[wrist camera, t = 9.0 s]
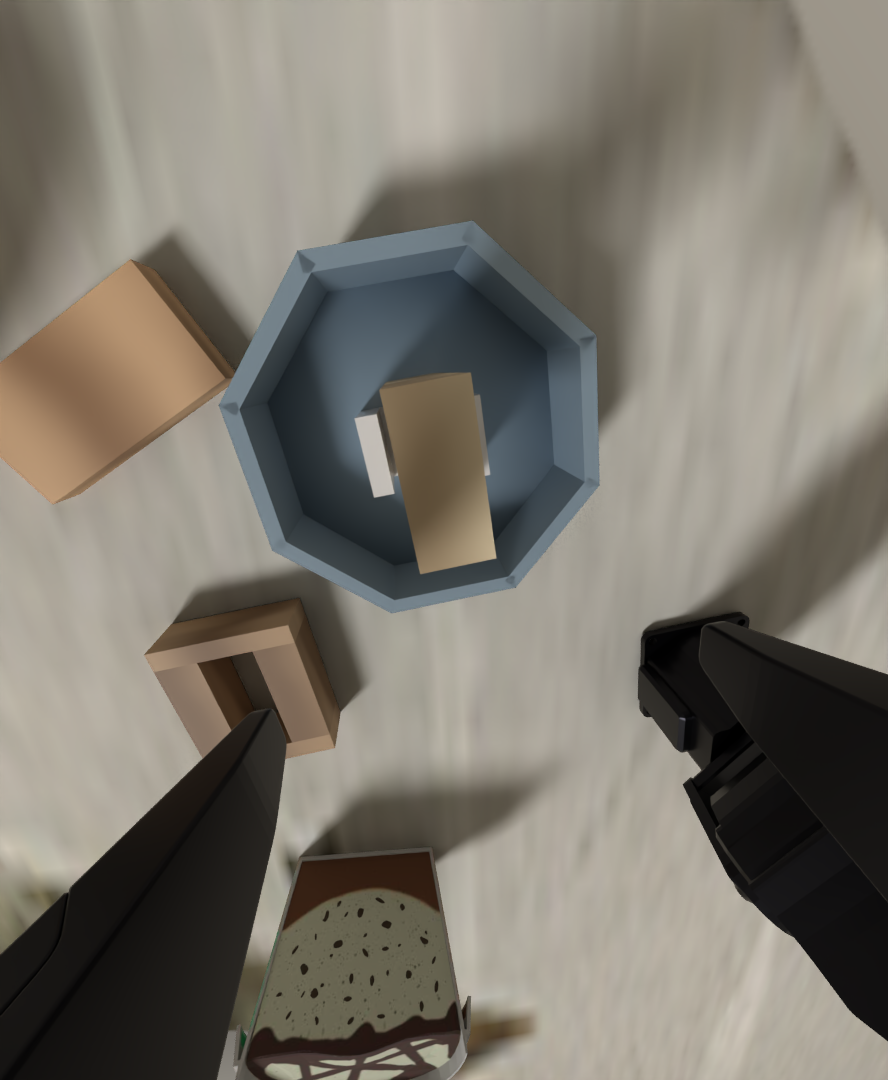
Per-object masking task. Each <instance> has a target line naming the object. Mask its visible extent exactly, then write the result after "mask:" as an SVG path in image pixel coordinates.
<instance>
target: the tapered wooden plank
mask: <svg viewBox="0 0 888 1080" xmlns="http://www.w3.org/2000/svg"><path fill="white" fill-rule="evenodd" d="M234 375H235V372H234V371H233V369H232V368H231V367H230V365H229V364H228V363H227V362H226V360H225V359H224V358H223V356H222V355H221V354H220V353H219V351H218V350H217V349H216V348H215V346H214V345H213V344H212V342H211V341H210V340H209V339H208V337H207V336H206V335H205V334H204V332H203V331H202V330H201V328H200V327H199V326H198V325H197V323H196V322H195V321H194V319H193V318H192V317H191V316H190V314H189V313H188V312H187V311H186V309H185V308H184V307H183V305H182V304H181V303H180V302H179V300H178V299H177V298H176V297H175V295H174V294H173V293H172V291H171V290H170V289H169V288H168V286H167V285H166V284H165V282H164V281H163V280H162V279H161V277H160V276H159V275H158V274H157V272H156V271H155V270H154V269H151V268H149V267H147V266H144V265H142V264H140V263H138V262H135V261H133V260H131V259H130V260H129V261H128V262H126V263H125V264H124V265H123V266H121V267H120V268H119V269H118V270H116V271H115V272H114V273H112V274H111V275H110V276H109V277H107V278H106V279H105V280H104V281H102V282H101V283H100V284H99V285H97V286H96V287H95V288H94V289H92V290H91V291H90V292H89V293H87V294H86V295H85V296H84V297H82V298H81V299H80V300H79V301H77V302H76V303H75V304H73V305H72V306H71V307H70V308H68V309H67V310H66V311H65V312H63V313H62V314H61V315H60V316H58V317H57V318H56V319H55V320H53V321H52V322H51V323H50V324H48V325H47V326H46V327H45V328H43V329H42V330H41V331H40V332H38V333H37V334H36V335H35V336H33V337H32V338H31V339H29V340H28V341H27V342H26V343H24V344H23V345H22V346H21V347H19V348H18V349H17V350H16V351H14V352H13V353H12V354H11V355H9V356H8V357H7V358H6V359H4V360H3V361H2V362H1V363H0V457H1V458H2V459H3V460H4V461H5V462H6V463H7V464H8V465H9V466H11V467H12V468H13V469H14V470H15V471H16V472H17V473H18V474H19V475H21V476H22V477H23V478H24V479H25V480H26V481H27V482H28V483H29V484H30V485H32V486H33V487H34V488H35V489H36V490H37V491H38V492H39V493H40V494H42V495H43V496H44V497H45V498H46V499H47V500H48V501H49V502H50V503H52V504H55V503H58V502H60V501H63V500H66V499H68V498H71V497H74V496H76V495H79V494H81V493H82V492H84V491H85V490H86V489H88V488H89V487H90V486H92V485H93V484H95V483H96V482H97V481H99V480H100V479H101V478H103V477H104V476H106V475H107V474H108V473H110V472H111V471H112V470H114V469H115V468H117V467H118V466H119V465H121V464H122V463H123V462H125V461H126V460H128V459H129V458H130V457H132V456H133V455H134V454H136V453H137V452H139V451H140V450H141V449H143V448H144V447H145V446H147V445H148V444H150V443H151V442H152V441H154V440H155V439H156V438H158V437H159V436H161V435H162V434H163V433H165V432H166V431H168V430H169V429H170V428H172V427H173V426H174V425H176V424H177V423H179V422H180V421H181V420H183V419H184V418H185V417H187V416H188V415H190V414H191V413H192V412H194V411H195V410H196V409H198V408H199V407H201V406H202V405H203V404H205V403H206V402H207V401H209V400H210V399H212V398H213V397H214V396H216V395H217V394H218V393H220V392H221V391H223V390H224V389H225V388H227V387H228V386H229V384H230V382H231V381H232V379H233V377H234Z"/></svg>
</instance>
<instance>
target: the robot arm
mask: <svg viewBox="0 0 888 1080" xmlns="http://www.w3.org/2000/svg"><path fill="white" fill-rule="evenodd" d="M748 627H749V618H748V617H747V616H746V615H745V614H743V613H741V612H736V613H731V614H727V615H722V616H717V617H713V618H708V619H703V620H699V621H694V622H690V623H685V624H680V625H676V626H671V627H666V628H662V629H657V630H652V631H648V632H646V633H645V634H643V636H642V638H641V664H640V667H639V672H638V699H639V701H640V711H641V712H642V714H643V715H644V716H645V717H652V718H653V719H654V721H655V722H656V723H657V725H658V726H659V727H660V729H661V730H662V731H663V733H664V734H665V735H666V737H667V738H668V739H669V741H670V742H671V743H672V745H673V746H674V747H675V749H677V750H678V751H680V752H688V753H689V755H690V756H691V757H692V758H693V760H694V761H695V762H696V764H697V765H698V766H699V767H700V769H701V771H700V772H699V773H698V774H697V775H696V776H695V777H694V778H689V779H688V780H687V781H686V782H685V783H684V784H683V786H684V788H685V790H686V792H687V794H688V796H689V798H690V802H691V804H692V806H693V808H694V810H695V812H696V814H697V816H698V818H699V820H700V822H701V824H702V826H703V828H704V830H705V832H706V834H707V836H708V838H709V840H710V842H711V843H712V845H713V847H714V849H715V851H716V853H717V855H718V857H719V859H720V861H721V863H722V865H723V867H724V869H725V871H726V873H727V875H728V876H729V878H730V879H731V880H732V881H733V882H734V885H735V888H736V889H737V891H738V892H739V894H740V895H741V896H742V897H743V898H744V899H745V900H747V901H749V902H751V903H753V904H754V905H755V906H756V907H757V908H758V909H759V910H760V911H761V912H762V913H763V914H764V915H765V916H766V917H767V918H768V919H769V920H770V921H771V922H772V923H773V924H775V925H776V926H777V927H778V928H780V929H781V930H782V931H784V932H785V933H787V934H789V935H790V936H792V937H794V938H795V939H796V940H797V942H798V943H799V944H800V945H801V947H802V948H803V949H804V950H805V952H806V953H807V954H808V956H809V957H810V958H811V959H812V961H813V962H814V963H815V965H816V966H817V967H818V969H819V970H820V971H821V973H822V974H823V975H824V977H825V978H826V979H827V981H828V982H829V983H830V985H831V986H832V987H833V989H834V990H835V991H836V993H837V994H838V995H839V997H840V998H841V999H842V1001H843V1002H844V1004H845V1005H846V1006H847V1008H848V1009H849V1010H850V1011H851V1012H852V1013H853V1014H854V1015H855V1016H856V1017H857V1018H859V1019H860V1020H861V1021H863V1022H864V1023H865V1024H866V1025H868V1026H869V1027H870V1028H872V1029H873V1030H874V1031H875V1032H877V1033H878V1034H879V1035H881V1036H882V1037H883V1038H884V1039H886V1040H887V1041H888V674H885V673H882V672H879V671H875V670H872V669H869V668H866V667H863V666H860V665H857V664H854V663H851V662H848V661H845V660H842V659H839V658H836V657H833V656H830V655H827V654H824V653H821V652H818V651H815V650H811V649H808V648H805V647H802V646H799V645H796V644H793V643H790V642H787V641H784V640H781V639H778V638H775V637H772V636H769V635H766V634H763V633H760V632H757V631H754V630H751V629H748ZM651 639H652V640H651ZM650 640H651V641H650ZM286 749H287V744H286V738H285V735H284V732H283V730H282V727H281V725H280V723H279V720H278V718H277V715H276V713H275V711H274V710H273V709H270V708H268V709H263V710H257V711H253V712H251V713H249V714H248V715H247V716H246V717H245V718H244V719H243V720H242V721H241V722H240V723H239V724H238V725H237V726H236V727H235V728H234V729H233V730H232V731H231V732H230V733H229V734H228V735H226V736H225V737H224V738H223V739H222V740H221V741H220V742H219V743H218V744H217V745H216V746H215V747H214V748H213V749H212V750H211V751H210V752H209V753H208V754H207V755H206V756H205V757H204V758H203V759H202V760H201V761H200V762H199V763H198V764H197V765H196V766H195V767H194V768H193V769H192V770H190V771H189V772H188V773H187V774H186V775H185V776H184V777H183V778H182V779H181V780H180V781H179V782H178V783H177V784H176V785H175V786H174V787H173V788H172V789H171V790H170V791H169V792H168V793H167V794H166V795H165V796H164V797H163V798H162V799H161V800H160V801H159V802H158V803H157V804H156V805H154V806H153V807H152V808H151V809H150V810H149V811H148V812H147V813H146V814H145V815H144V816H143V817H142V818H141V819H140V820H139V821H138V822H137V823H136V824H135V825H134V826H133V827H132V828H131V829H130V830H129V831H128V832H127V833H126V834H125V835H124V836H123V837H122V838H121V839H120V840H118V841H117V842H116V843H115V844H114V845H113V846H112V847H111V848H110V849H109V850H108V851H107V852H106V853H105V854H104V855H103V856H102V857H101V858H100V859H99V860H98V861H97V862H96V863H95V864H94V865H93V866H92V867H91V868H90V869H89V870H88V871H87V872H86V873H85V874H83V875H82V876H81V877H80V878H79V879H78V880H77V881H76V882H75V883H74V884H73V885H72V886H71V887H70V889H69V893H64V894H63V895H62V896H61V897H60V898H59V899H58V900H57V901H56V902H55V903H54V904H52V905H51V906H50V907H49V908H48V909H47V910H46V911H45V912H44V913H43V914H42V915H41V916H40V917H39V918H38V919H37V920H36V921H35V922H34V923H33V924H32V925H31V926H30V927H29V928H28V929H27V930H25V931H24V932H23V933H22V934H21V935H20V936H19V937H18V938H17V939H16V940H15V941H14V942H13V943H12V944H11V945H10V946H9V947H8V948H7V949H5V950H4V951H3V952H2V953H1V954H0V1080H217V1076H218V1072H219V1068H220V1064H221V1059H222V1055H223V1050H224V1047H225V1042H226V1038H227V1034H228V1030H229V1026H230V1021H231V1017H232V1013H233V1009H234V1004H235V1000H236V996H237V992H238V988H239V983H240V979H241V975H242V971H243V966H244V962H245V958H246V954H247V950H248V945H249V941H250V937H251V933H252V928H253V924H254V920H255V916H256V911H257V907H258V903H259V899H260V895H261V890H262V886H263V882H264V878H265V873H266V869H267V865H268V861H269V857H270V852H271V848H272V844H273V839H274V834H275V830H276V823H277V817H278V810H279V802H280V794H281V787H282V779H283V772H284V764H285V757H286Z"/></svg>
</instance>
